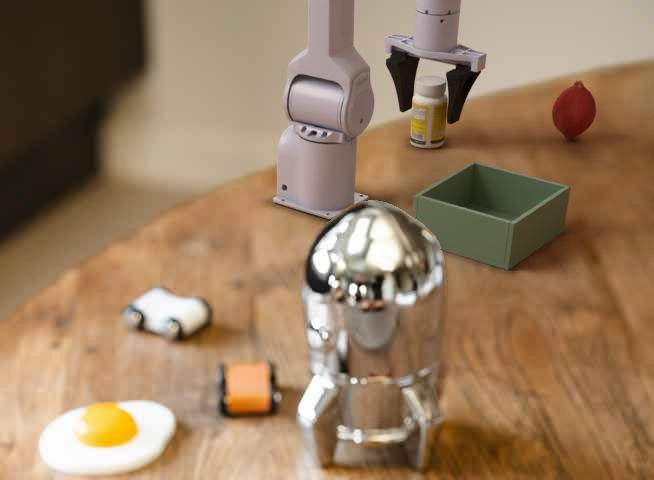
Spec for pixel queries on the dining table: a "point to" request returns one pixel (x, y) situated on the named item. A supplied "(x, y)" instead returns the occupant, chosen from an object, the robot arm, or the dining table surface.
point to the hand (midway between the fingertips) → (429, 115)
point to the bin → (492, 213)
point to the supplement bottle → (429, 112)
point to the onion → (574, 110)
